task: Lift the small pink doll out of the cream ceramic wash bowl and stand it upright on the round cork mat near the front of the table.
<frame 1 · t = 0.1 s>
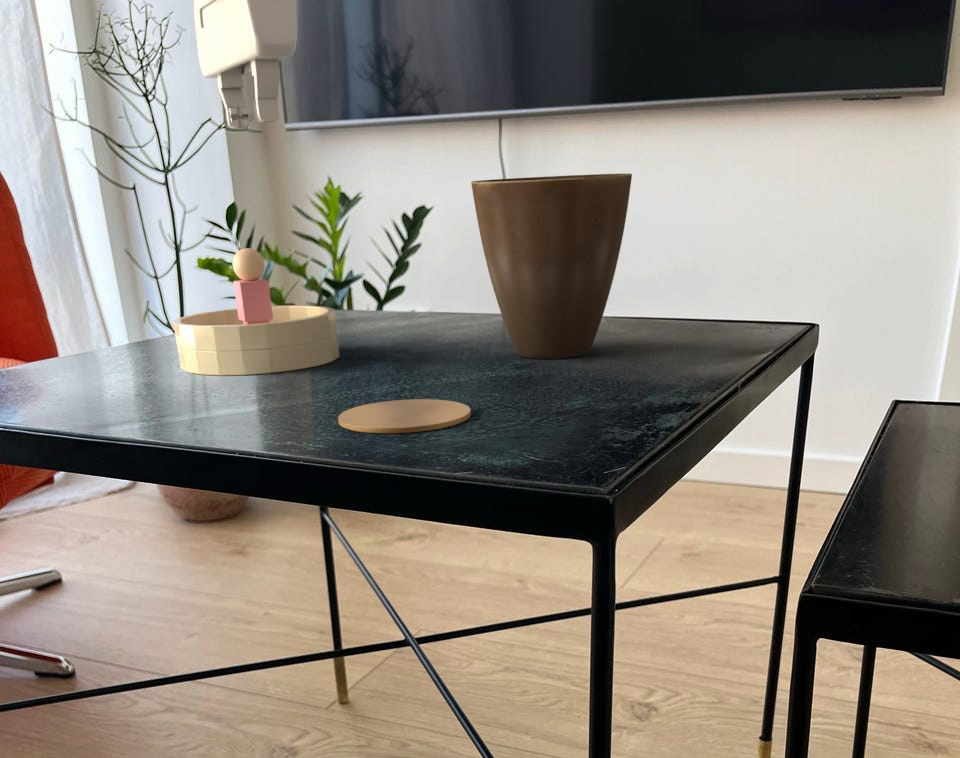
hand: (252, 125, 94), 22 cm above the table, tool pointing down, fingers open, 8 cm apart
mat: (405, 418, 76), on the table
flower pot: (553, 355, 101), on the table
basin: (262, 367, 101), on the table
doll: (261, 361, 101), point 1 cm above the table, touching basin
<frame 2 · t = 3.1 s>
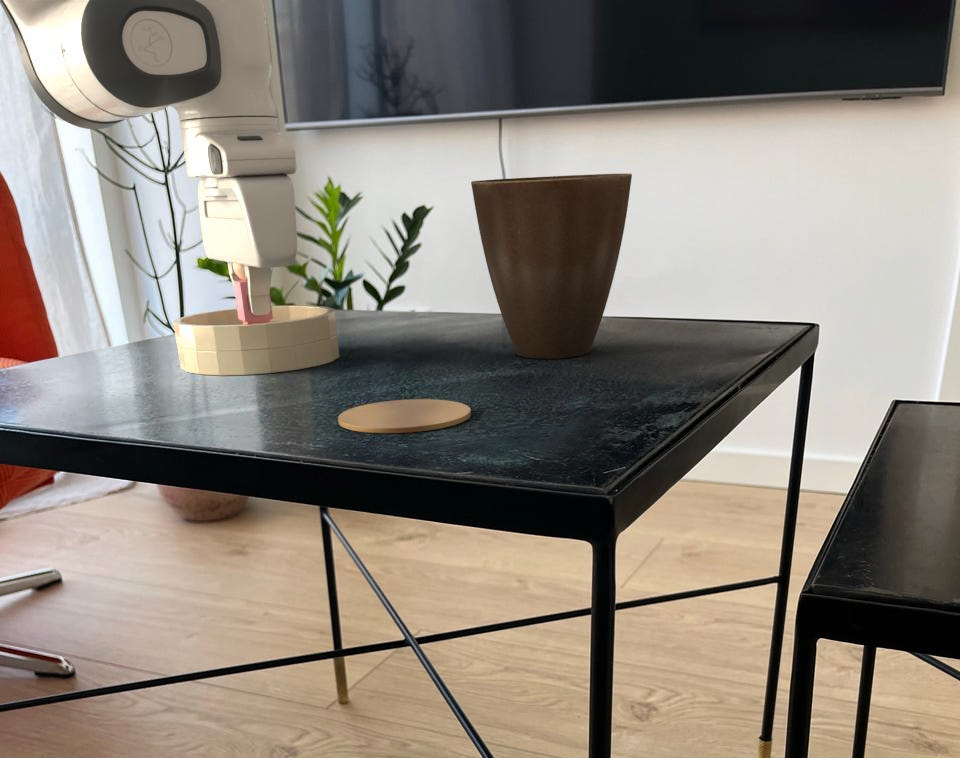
hand: (254, 312, 99), 5 cm above the table, tool pointing down, fingers closed on doll, 2 cm apart
doll: (261, 361, 101), point 1 cm above the table, touching basin, gripper
everything else where it was.
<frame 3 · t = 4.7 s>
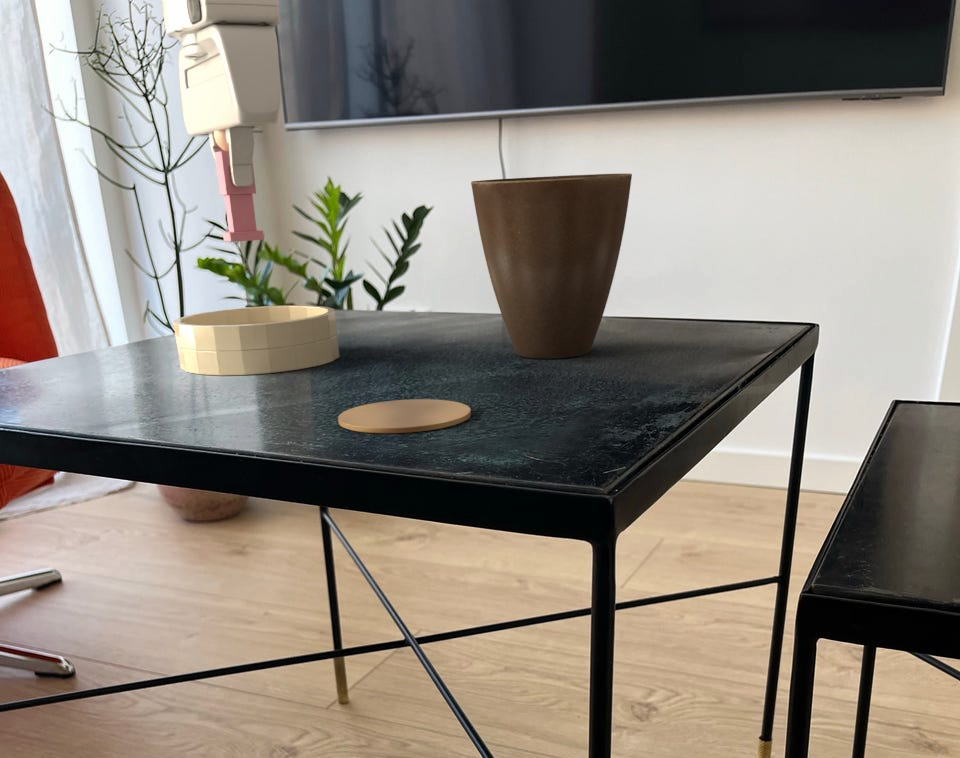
hand: (236, 186, 94), 16 cm above the table, tool pointing down, fingers closed on doll, 2 cm apart
doll: (243, 240, 96), point 12 cm above the table, touching gripper
everything else where it was.
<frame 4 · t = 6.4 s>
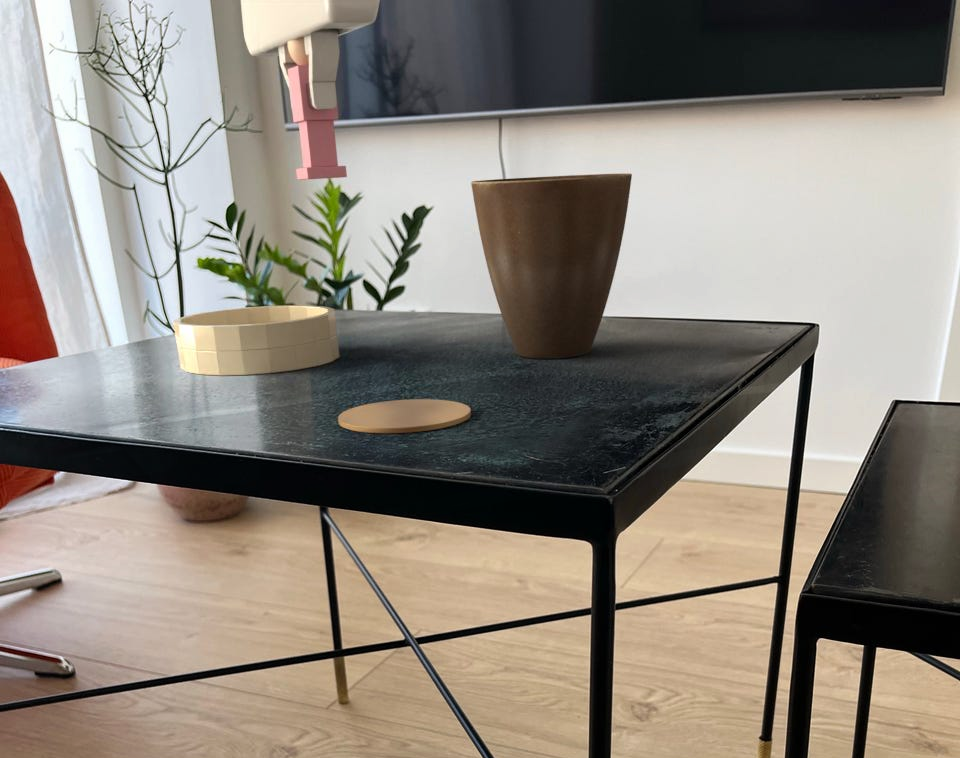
hand: (314, 111, 77), 21 cm above the table, tool pointing down, fingers closed on doll, 2 cm apart
doll: (322, 178, 79), point 17 cm above the table, touching gripper
everything else where it was.
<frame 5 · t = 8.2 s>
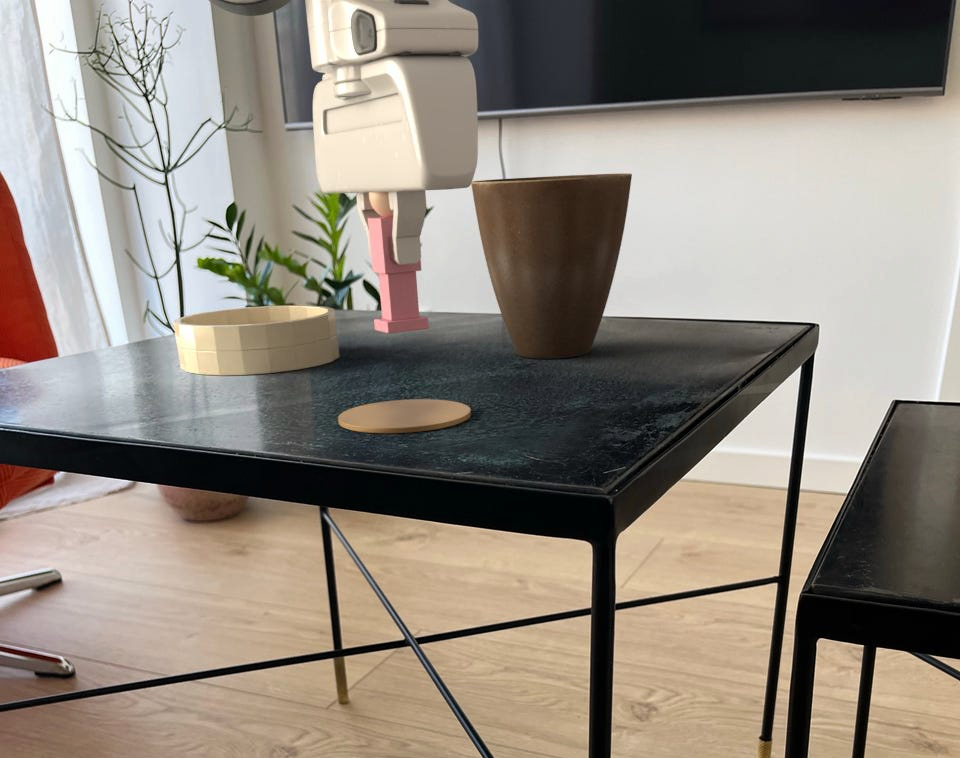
hand: (395, 262, 72), 11 cm above the table, tool pointing down, fingers closed on doll, 2 cm apart
doll: (401, 329, 74), point 6 cm above the table, touching gripper
everything else where it was.
when the fingers open (5 cm above the table, at t = 9.9 s): doll stays where it is, resting on mat.
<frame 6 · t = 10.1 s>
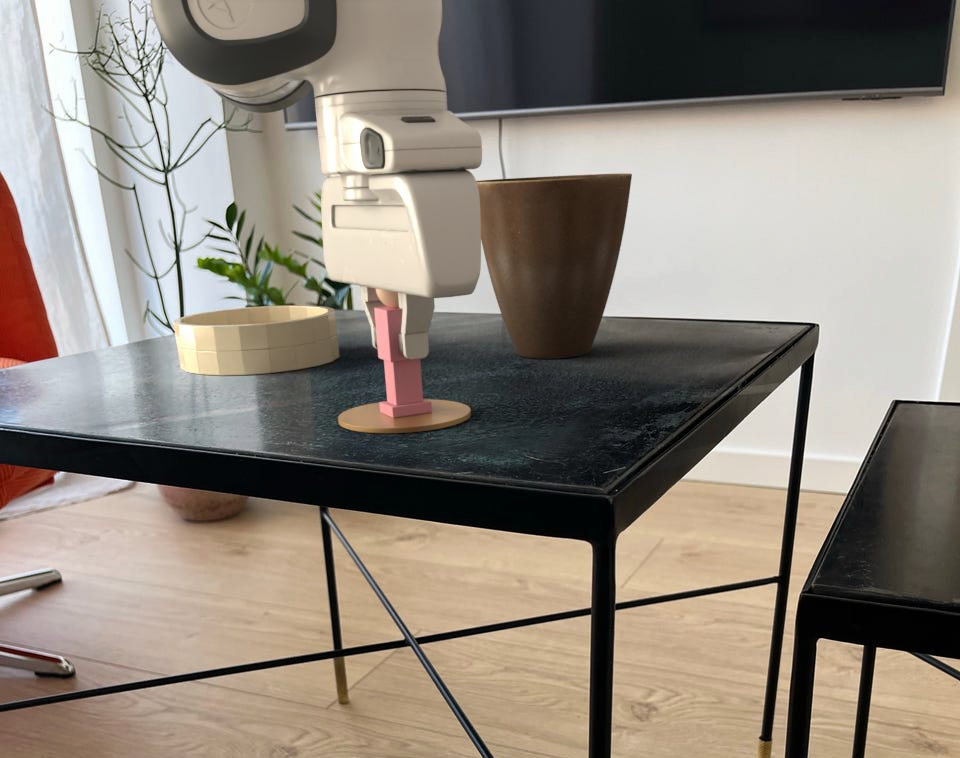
hand: (400, 353, 75), 5 cm above the table, tool pointing down, fingers open, 3 cm apart
doll: (405, 412, 76), resting on mat
everything else where it was.
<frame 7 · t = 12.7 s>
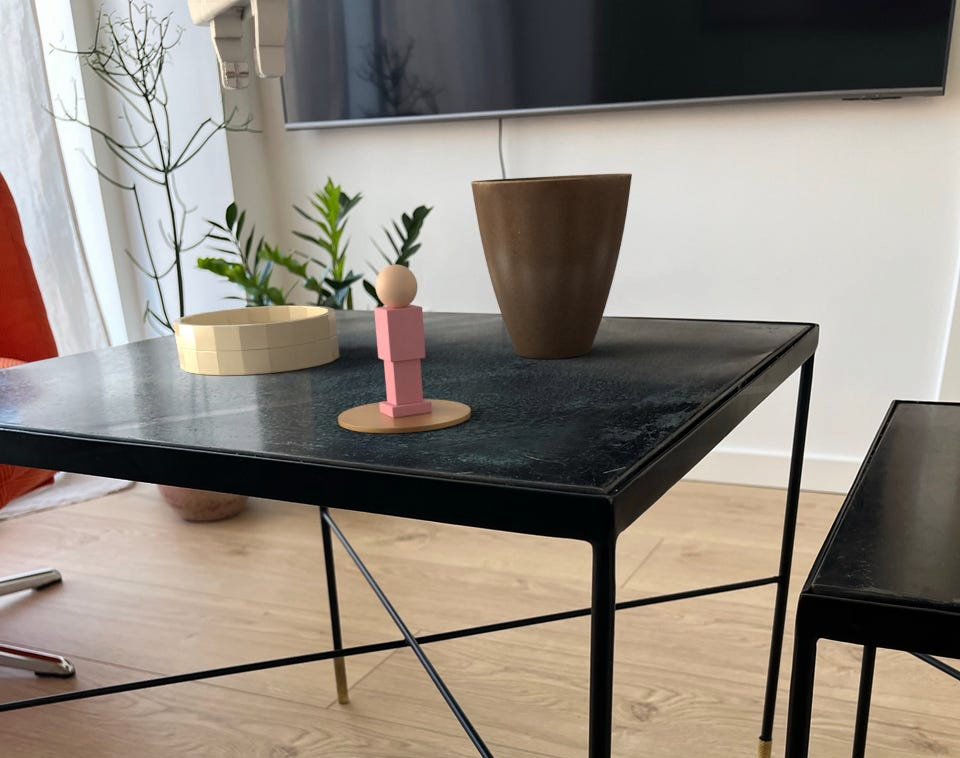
hand: (253, 83, 74), 23 cm above the table, tool pointing down, fingers open, 8 cm apart
nothing on the table moved.
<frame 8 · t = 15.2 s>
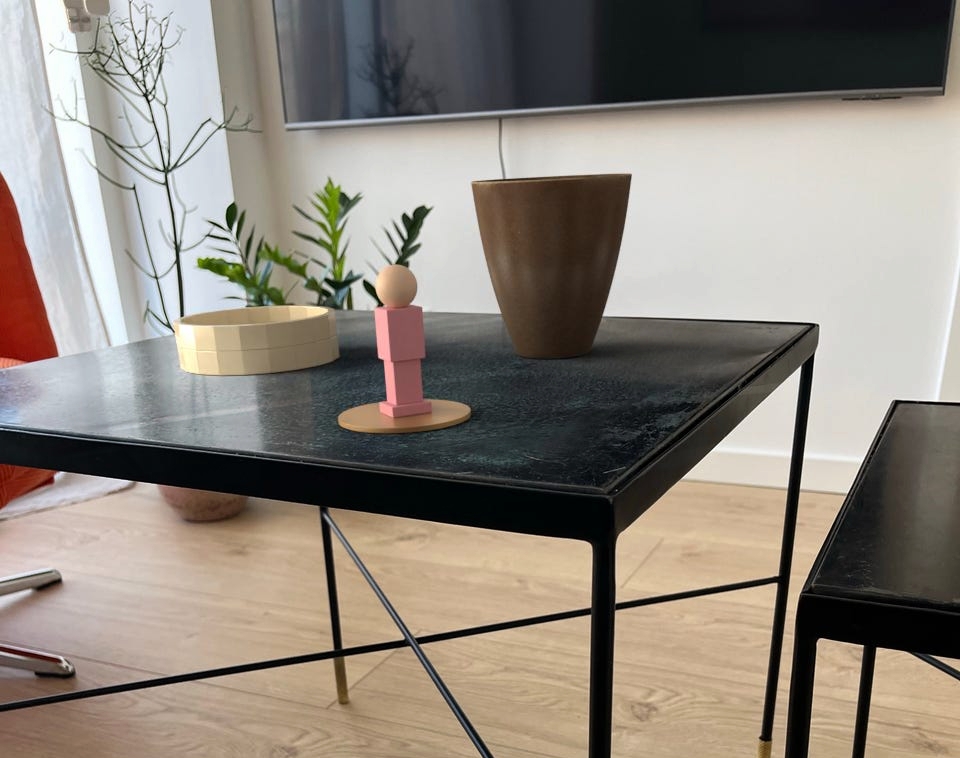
hand: (89, 25, 84), 29 cm above the table, tool pointing down, fingers open, 8 cm apart
nothing on the table moved.
at the end: doll 0.1 cm off-centre on the mat, point 0.4 cm above the mat's base; doll tilted 0° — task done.
